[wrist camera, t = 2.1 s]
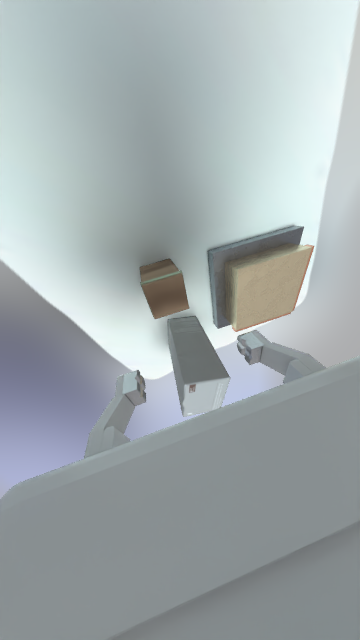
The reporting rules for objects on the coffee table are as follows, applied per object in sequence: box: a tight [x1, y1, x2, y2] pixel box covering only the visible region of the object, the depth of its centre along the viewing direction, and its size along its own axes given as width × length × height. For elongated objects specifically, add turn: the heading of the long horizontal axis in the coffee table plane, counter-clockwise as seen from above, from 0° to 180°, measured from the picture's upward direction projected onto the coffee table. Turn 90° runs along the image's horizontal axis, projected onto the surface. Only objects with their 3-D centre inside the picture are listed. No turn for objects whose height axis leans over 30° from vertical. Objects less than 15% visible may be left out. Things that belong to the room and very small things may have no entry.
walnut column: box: [140, 259, 189, 319], centre depth 22 cm, size 5×5×8 cm
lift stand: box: [208, 226, 314, 332], centre depth 28 cm, size 16×16×6 cm
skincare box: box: [168, 316, 230, 417], centre depth 27 cm, size 8×7×16 cm
